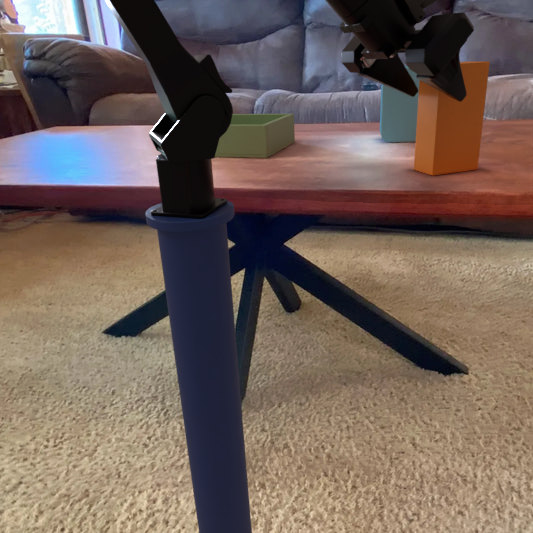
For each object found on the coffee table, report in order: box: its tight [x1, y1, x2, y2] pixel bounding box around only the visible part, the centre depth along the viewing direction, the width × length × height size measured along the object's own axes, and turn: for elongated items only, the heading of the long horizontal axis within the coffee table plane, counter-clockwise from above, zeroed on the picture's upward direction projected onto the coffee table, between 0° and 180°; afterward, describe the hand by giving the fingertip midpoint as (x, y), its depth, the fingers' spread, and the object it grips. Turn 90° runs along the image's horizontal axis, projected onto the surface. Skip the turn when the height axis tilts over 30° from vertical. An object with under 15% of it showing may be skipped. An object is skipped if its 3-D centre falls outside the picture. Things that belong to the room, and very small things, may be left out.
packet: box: [413, 60, 491, 177], centre depth 64 cm, size 4×7×13 cm, turn 110°
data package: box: [379, 65, 420, 143], centre depth 86 cm, size 12×4×12 cm, turn 81°
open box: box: [214, 113, 296, 159], centre depth 88 cm, size 15×15×5 cm
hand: (437, 96), depth 63 cm, fingers open, 9 cm apart
